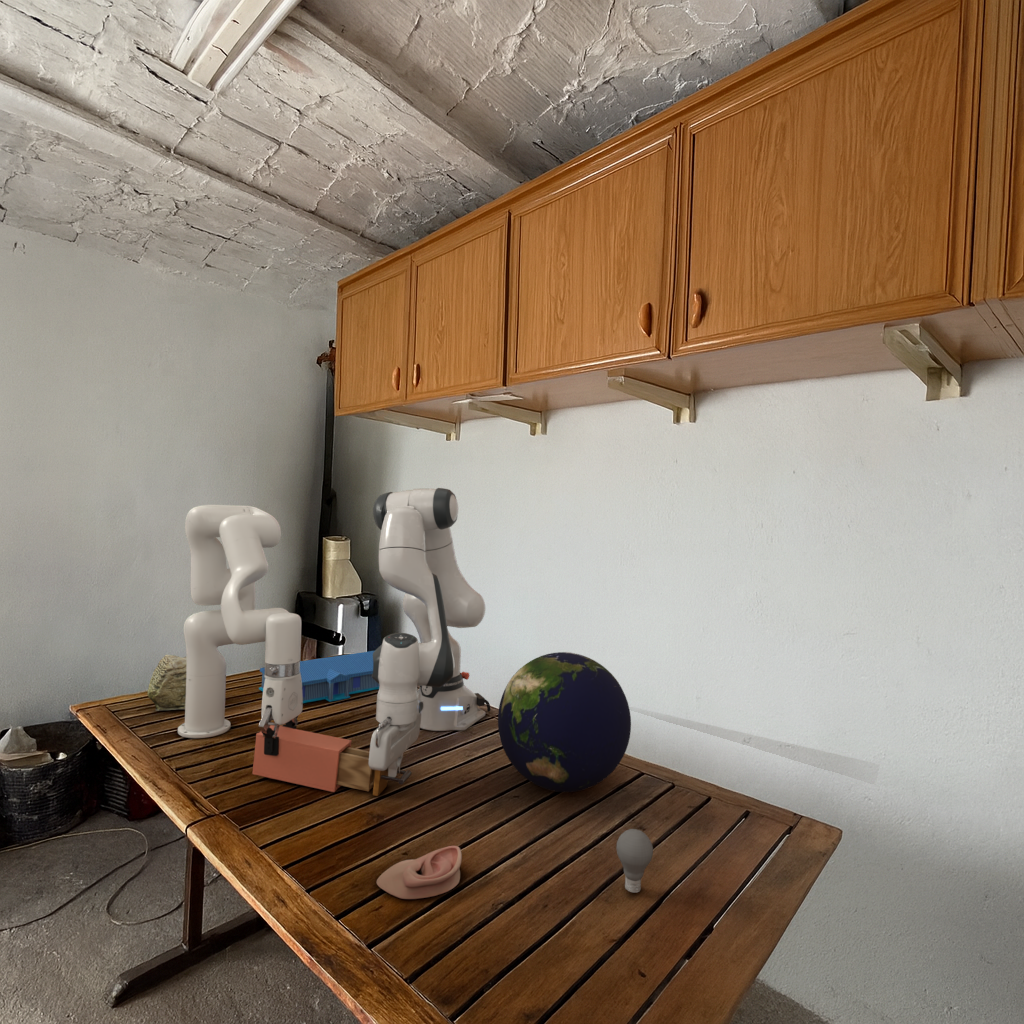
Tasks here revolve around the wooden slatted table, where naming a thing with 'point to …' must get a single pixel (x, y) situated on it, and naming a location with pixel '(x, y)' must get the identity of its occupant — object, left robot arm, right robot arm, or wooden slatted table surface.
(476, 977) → the wooden slatted table surface
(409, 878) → the anatomical model
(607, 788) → the wooden slatted table surface
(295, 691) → the left robot arm
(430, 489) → the right robot arm
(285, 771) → the cabinet
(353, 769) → the drawer
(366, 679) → the model building
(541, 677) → the globe
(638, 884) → the light bulb
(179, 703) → the fossil
